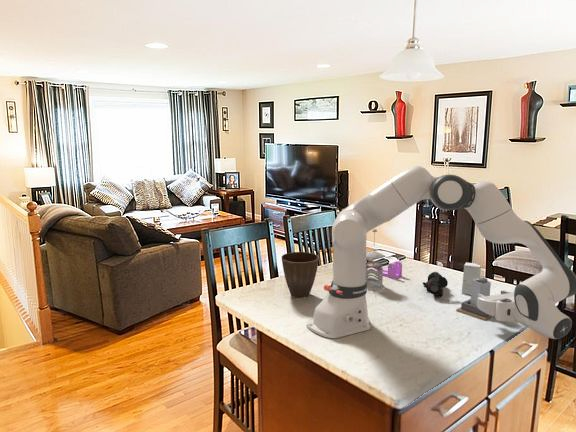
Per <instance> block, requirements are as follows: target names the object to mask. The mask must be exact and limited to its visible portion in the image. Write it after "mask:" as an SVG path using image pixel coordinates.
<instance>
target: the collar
mask: <svg viewBox="0 0 576 432" xmlns="http://www.w3.org/2000/svg"><path fill="white" fill-rule="evenodd" d="M470 301H471V298H469V299H466V300H465V301H462V302H461V303H460V307H458V308H456V310H455V311H456V312H459V313H462V314H465V315H468V316H470V317H473V318H476V319H480V320H482V321H487V320H490V319H491V318H493V317H494V316H491V315H488V314H486V313H485V312H483V311H481V310H480V309H478V308H477V306H474V305H471V304H470Z"/></svg>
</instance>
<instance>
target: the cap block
mask: <svg viewBox="0 0 576 432" xmlns="http://www.w3.org/2000/svg"><path fill="white" fill-rule="evenodd" d="M491 284H492V282H491V281H488V278H486V277H482V276H480V277H476V278H475V279H474V280H472V287H471V295H470V299H471V301H470V304H471V305H474V306H477V299H478V294H481V293H483V294H485V296H491Z"/></svg>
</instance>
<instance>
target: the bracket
mask: <svg viewBox="0 0 576 432" xmlns="http://www.w3.org/2000/svg"><path fill="white" fill-rule="evenodd" d="M373 269H374V268H373ZM374 270H375V271H378V270H376V269H374ZM402 276H403V264H402V262H401V261H400V260H397V261H394V262H390V263H388V265H387V268H383V277H386V278H390V279H393V280H395V279H398V278H401V277H402Z"/></svg>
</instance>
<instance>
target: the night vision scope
mask: <svg viewBox="0 0 576 432" xmlns="http://www.w3.org/2000/svg"><path fill="white" fill-rule="evenodd" d="M448 283H449V281H448V279H447V278H446V277H444V276H443V275H442V274H440V273H439V272H438V271H433V272H430V273H429V274H428V276H427V281H426V282H425V281H424V282H422V286H423V287H424V289H426V291H427V292H429V294H431V295H435V296H437V297H438V298H443V296H444V288H447V286H448V285H449V284H448Z"/></svg>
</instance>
